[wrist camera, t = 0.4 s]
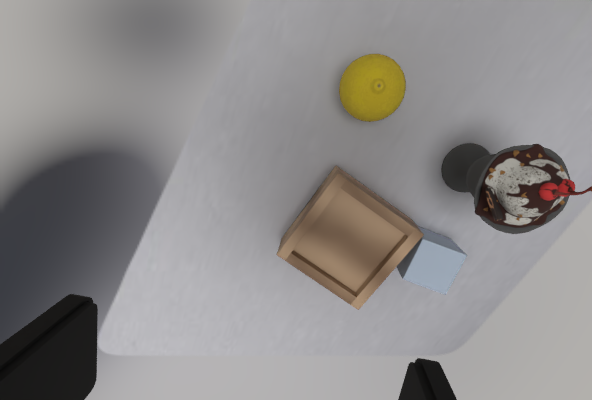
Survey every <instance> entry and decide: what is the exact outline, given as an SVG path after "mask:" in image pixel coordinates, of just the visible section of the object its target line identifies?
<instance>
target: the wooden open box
mask: <svg viewBox="0 0 592 400" xmlns="http://www.w3.org/2000/svg"><path fill="white" fill-rule="evenodd" d="M423 235H424V234H423V233H422V231H421V230H420V229H419V228H418V227H417V225H416V224H415V223H414V222H413V220H412V219H410V218H409V217H407V216H406V215H405V214H403V213H402V212H400V211H399V210H398V209H396V208H395V207H393V206H392V205H391V204H389V203H388V202H386V201H385V200H384V199H382V198H381V197H379V196H378V195H377V194H375V193H374V192H372V191H371V190H370V189H368V188H367V187H365V186H364V185H363V184H361V183H360V182H358V181H357V180H356V179H354V178H353V177H351V176H350V175H349V174H347V173H346V172H344V171H343V170H342V169H340V168H339V167H337V166H335V167H334V169H333V170H332V171H331V173H330V174H329V175H328V177H327V178H326V180H325V181H324V182H323V184H322V185H321V186H320V188H319V189H318V190H317V192H316V193H315V194H314V196H313V197H312V198H311V200H310V201H309V202H308V204H307V205H306V206H305V208H304V209H303V210H302V212H301V213H300V214H299V216H298V217H297V219H296V220H295V221H294V223H293V224H292V225H291V227H290V228H289V229H288V231H287V232H286V233H285V235H284V236H283V237H282V239H281V242H280V246H279V249H278V252H277V255H278V256H279V257H281V258H282V259H284V260H285V261H287V262H288V263H289V264H291V265H292V266H294V267H295V268H297V269H298V270H300V271H301V272H303V273H304V274H306V275H307V276H309V277H310V278H312V279H313V280H315V281H316V282H318V283H319V284H321V285H322V286H324V287H325V288H327V289H328V290H330V291H331V292H332V293H334V294H335V295H337V296H338V297H340V298H341V299H343V300H344V301H346V302H347V303H349V304H350V305H352V306H353V307H355V308H356V309H358V310H359V309H360V308H361V306H362V305H363V304H364V303H365V302H366V301H367V300H368V298H369V297H370V296H371V295H372V294H373V293H374V292H375V290H376V289H377V288H378V287H379V286H380V285H381V284H382V282H383V281H384V280H385V279H386V278H387V277H388V276H389V274H390V273H391V272H392V271H393V270H394V269H395V267H396V266H397V265H398V264H399V263H400V262H401V261H402V259H403V258H404V257H405V256H406V255H407V254H408V253H409V251H410V250H411V249H412V248H413V247H414V246H415V245H416V243H417V242H418V241H419V240H420V239H421V238H422V237H423Z"/></svg>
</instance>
